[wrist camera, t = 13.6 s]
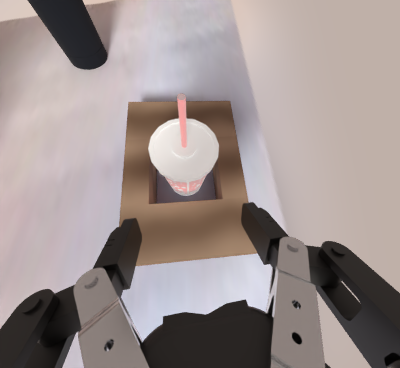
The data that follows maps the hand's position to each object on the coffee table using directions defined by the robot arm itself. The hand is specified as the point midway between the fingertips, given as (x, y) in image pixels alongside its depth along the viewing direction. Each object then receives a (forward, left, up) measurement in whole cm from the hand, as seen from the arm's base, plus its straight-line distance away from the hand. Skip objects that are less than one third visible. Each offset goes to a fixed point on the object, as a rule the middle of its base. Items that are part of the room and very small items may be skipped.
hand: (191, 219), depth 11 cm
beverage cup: (-4, +5, -9) cm, 11 cm away
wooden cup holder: (-4, +5, -9) cm, 11 cm away
